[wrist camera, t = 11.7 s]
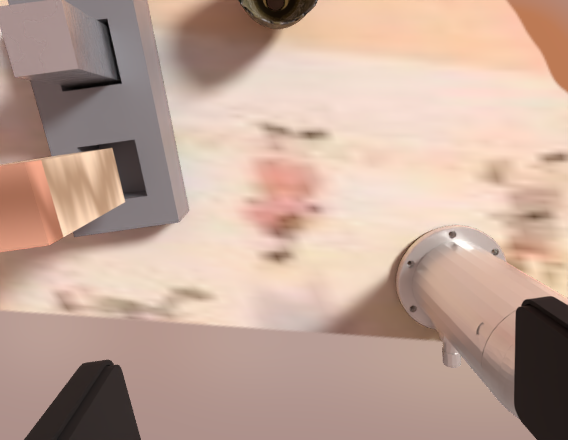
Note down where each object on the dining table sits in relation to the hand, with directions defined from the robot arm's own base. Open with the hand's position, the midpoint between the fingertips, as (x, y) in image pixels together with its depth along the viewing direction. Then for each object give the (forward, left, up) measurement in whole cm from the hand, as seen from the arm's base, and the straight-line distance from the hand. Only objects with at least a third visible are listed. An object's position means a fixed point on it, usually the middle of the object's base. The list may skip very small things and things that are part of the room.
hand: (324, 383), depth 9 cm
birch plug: (+4, +15, -24) cm, 28 cm away
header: (+8, +15, -33) cm, 37 cm away
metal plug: (+14, +15, -33) cm, 39 cm away
